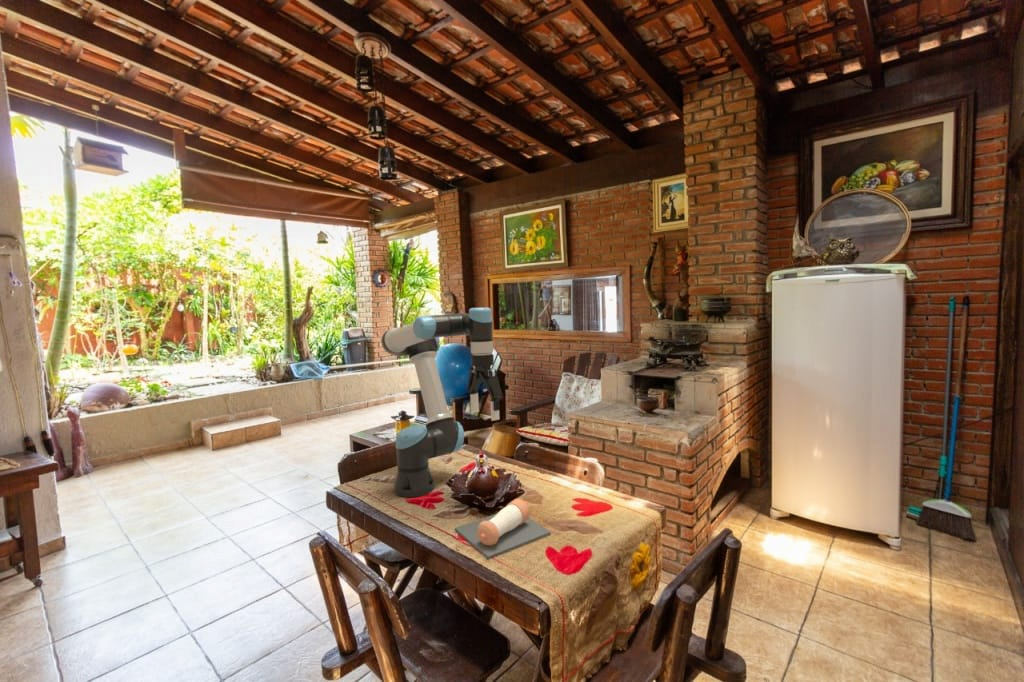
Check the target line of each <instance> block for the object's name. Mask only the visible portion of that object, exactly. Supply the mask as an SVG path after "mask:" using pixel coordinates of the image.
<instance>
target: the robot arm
mask: <svg viewBox="0 0 1024 682" xmlns="http://www.w3.org/2000/svg"><path fill="white" fill-rule="evenodd" d="M458 336H469V340H470V343H469V344H470V353H471V355H470V361H471V362H470V364H471V366H470V367H469V375H468V380H467V384H466V388H465V389H466V391H467V392H468V394H470V395H469V396H470V413H471V414H474V413H479V412H480V407H479V405H480V404H479V392H478V390H479V387H480V385H481V383H483V384H484V385H485V388H486V389H487V391H488V394H489V397H490V400H489V401H490V421H491V422H493V421H499V420H500V400H503V399H504V395H503V392H502V389H501V386H500V385H501V384H500V382H499V378H498V371H497V369H492V366H493V365H494V364H495V363H494V361H495V359H494V354H493V352H494V340H493V338H494V336H493V315H492V310H491V308H490V307H471V308H470V309H469V310H468V313H465V312H461V313H459V312H458V313H453V314H452V313H450V314H437V315H436V314H435V315H434V314H433V315H427V314H426V315H420V316H417V317H415V319H414V321H413V322H412V323H409V324H407V325H404V326H400V327H392V328H390V329H388V330H386V331H385V332H384V333H383V334H382V336H381V341H380V343H381V346H382V349H383V350H384V351H385V352H386V353H388V354H390V355H392V356H396V357H397V356H398V357H402V356H405V357H406V356H408V359H409V362H411V363H412V364H414V368H415V372H416V376H417V380H418V385H419V387H420V392H421V397H422V400H423V405H424V409H425V412H426V417H427V421H426V423H425V425H422V424H417V425H410V426H408V427H405V428H402V429H401V430H399V431H398V432H397V433H396V435H395V445H394V446H395V449H396V451H395V452H396V467H397V473H396V475H395V481H394V484H393V493H394V494H395V495H396V496H398V497H403V498H416V497H420V496H424V495H426V494H429V493H430V492H432V491H433V490H434V489H435V479H434V477H433V474H432V471H431V470H430V464H429V460H430V459H434V458H437V457H442V456H445V455H451V454H453V453H456V452H458V451H460V450H461V449H462V447H463V445H464V442H465V441H464V439H465V431H464V427H463V425H462V424H461V422H459V421H456V420H455V417H454V416H453V415H452V414H450V413H449V409H448V405H447V401H446V397H445V393H444V388H443V385H442V381H441V377H440V374H439V370H438V365H437V362H436V357H437V355H438V351H439V350H440V345H441V344H440V343H441V340H440V338H444V337H458Z"/></svg>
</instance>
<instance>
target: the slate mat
mask: <svg viewBox="0 0 1024 682" xmlns="http://www.w3.org/2000/svg"><path fill="white" fill-rule="evenodd" d="M498 513H499V512H497V513H495V514H491V515H489V516H486V517H483V518H480V519H477V520H474V521H472V522H469V523H465V524H463V525H459V526H456V527H454V531H455V532H456V533H457V534H459V536H461V537H462V538H463V539H464V540H465V542H468V543H469V544H470V545H471V546H472V547H473V548H474V549H475V550H477V551H478V553H480V554H481V555H482V554H483V555H484V556H483V557H485V559H487V560H491V559H493V558H495V556H496V557H498V556H501V555H502V554H505V553H508V552H510V551H513V550H515V549H518V548H521V547H523V546H525V545H528V544H530V543H533V542H535V541H537V540H540V539H543V538H546V537H547V536H550V535H552V531H551V530H548V529H547V527H544V526H543V525H541V524H539V523H538V522H536V521H535V520H533V519H531V517H529V518H528V520H527V521H525V522H524V523H523V524H521V525H520V526H517V527H516V528H514V529H513V530H511V531H508V532H506V533H504V534H503V535H502V536H500V537H499V538H498V541H497V542H496V544H494V545H492V546H488V545H485V544H483V543H482V542H481V541H480V539H479V537H478V534H477V530H478V526H479V525H480V523H481V522H483V521H489V520H491V519H492V518H493V517H495V516H496V515H497V514H498ZM490 558H491V559H490Z"/></svg>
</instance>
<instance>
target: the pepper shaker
mask: <svg viewBox="0 0 1024 682" xmlns="http://www.w3.org/2000/svg"><path fill="white" fill-rule="evenodd" d="M497 513H498V514H497ZM497 513H496V514H497V515H496V516H495V517H493V518H492V519H491V520H489V521H483V522H481V523H480V525H479V526H478V530H477V534H478V537H479V539H480V541H481V542H482V543H483V544H485V545H488V546H492V545H494V544H496V542H497V541H498V538H499V537H500V536H502V535H503V534H504V533H506V532H508V531H511V530H513V529H514V528H516V527H517V526H520V525H521V524H523V523H524V522H525V521H527V520H528V518H530V516H531V511H530V507H529V505H528V504H527V503H526V502H525V500H523V499H521V498H520V499H519V498H515V499H513V500H511V501H510V502H509V503H507V504H506V505H505V507H504V508H502V509H500V510H499V512H497Z"/></svg>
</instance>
